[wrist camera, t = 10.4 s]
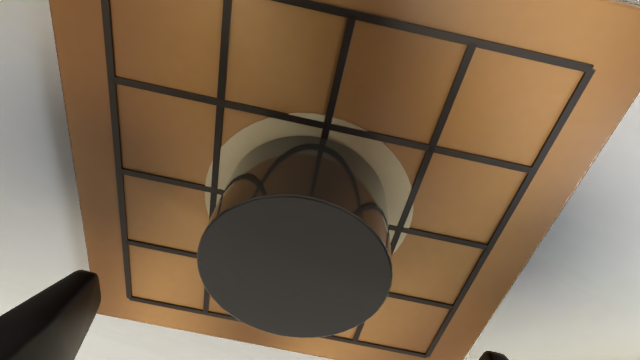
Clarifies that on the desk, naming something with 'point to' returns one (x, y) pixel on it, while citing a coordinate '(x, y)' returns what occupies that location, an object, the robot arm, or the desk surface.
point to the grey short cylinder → (299, 240)
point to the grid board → (340, 141)
